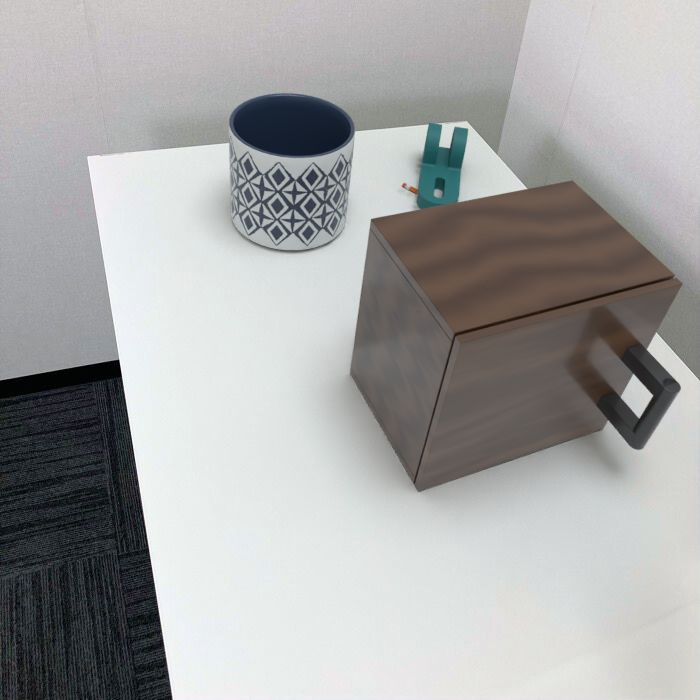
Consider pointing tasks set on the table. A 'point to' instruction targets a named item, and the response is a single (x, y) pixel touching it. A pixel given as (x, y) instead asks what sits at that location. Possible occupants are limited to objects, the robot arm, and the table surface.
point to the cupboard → (476, 289)
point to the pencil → (410, 188)
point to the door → (549, 383)
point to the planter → (290, 170)
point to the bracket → (441, 167)
